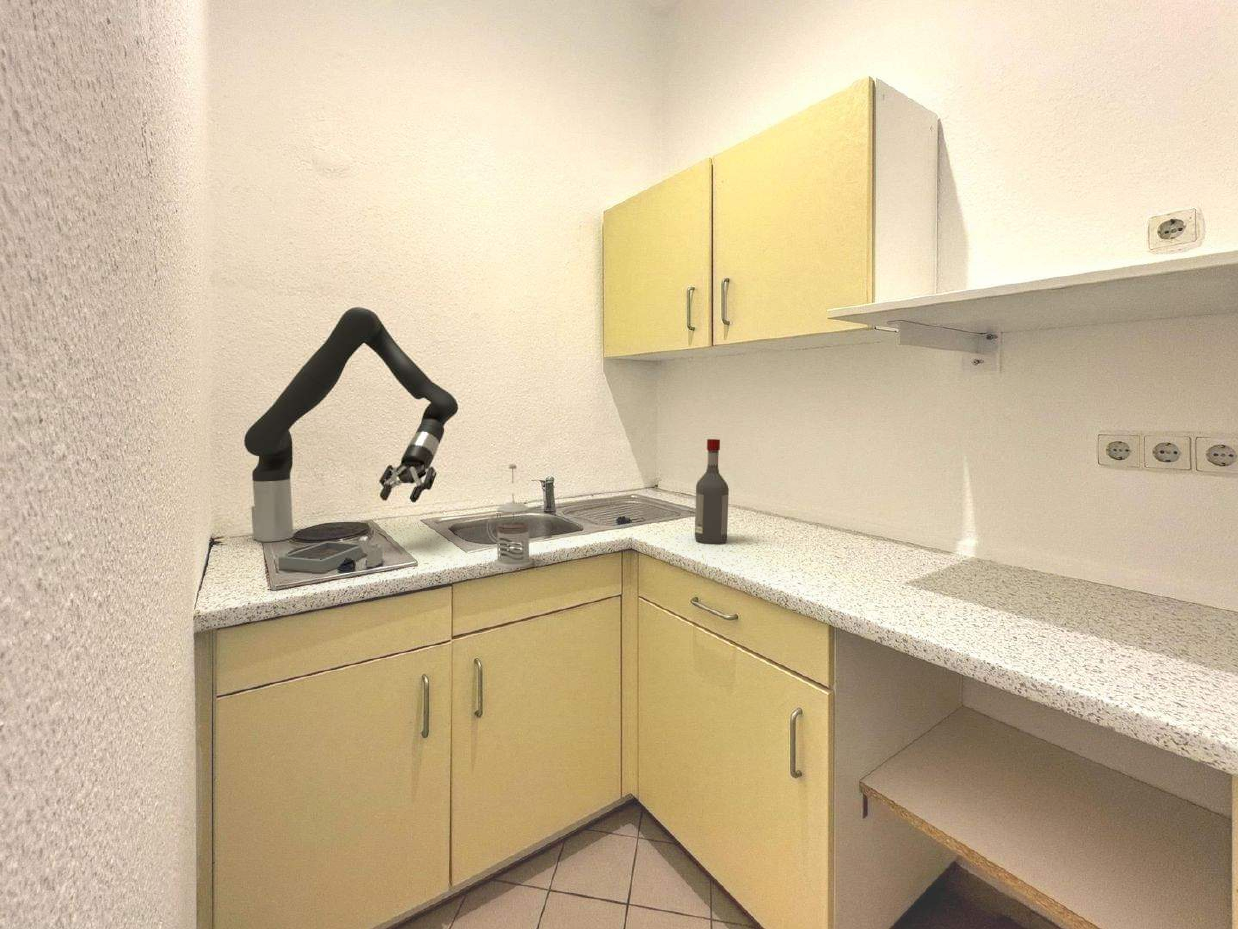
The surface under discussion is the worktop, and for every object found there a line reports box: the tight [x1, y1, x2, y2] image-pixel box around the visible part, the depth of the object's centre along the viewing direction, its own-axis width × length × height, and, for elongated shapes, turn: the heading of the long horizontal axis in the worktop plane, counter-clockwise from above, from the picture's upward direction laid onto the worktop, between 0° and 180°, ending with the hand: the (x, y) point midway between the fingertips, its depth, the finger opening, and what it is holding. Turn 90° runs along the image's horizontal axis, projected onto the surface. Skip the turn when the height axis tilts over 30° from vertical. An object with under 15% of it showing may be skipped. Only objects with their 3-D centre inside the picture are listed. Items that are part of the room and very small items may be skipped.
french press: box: [486, 463, 534, 569], centre depth 141 cm, size 10×12×25 cm
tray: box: [277, 540, 367, 575], centre depth 140 cm, size 12×16×3 cm
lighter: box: [358, 536, 383, 568], centre depth 137 cm, size 7×2×8 cm, turn 172°
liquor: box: [694, 438, 730, 545], centre depth 165 cm, size 9×9×30 cm
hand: (397, 499), depth 146 cm, fingers open, 8 cm apart
